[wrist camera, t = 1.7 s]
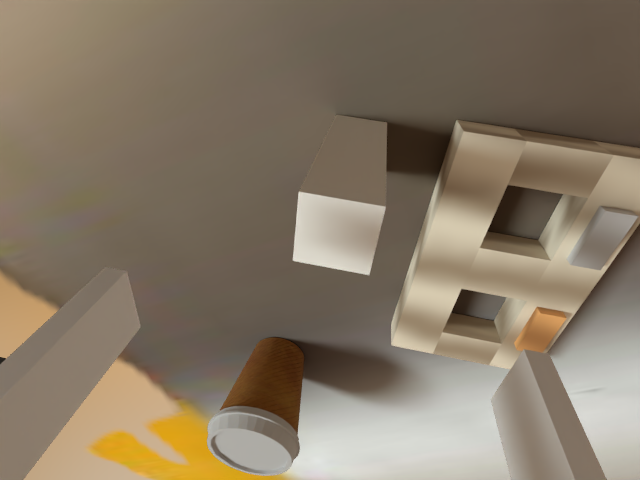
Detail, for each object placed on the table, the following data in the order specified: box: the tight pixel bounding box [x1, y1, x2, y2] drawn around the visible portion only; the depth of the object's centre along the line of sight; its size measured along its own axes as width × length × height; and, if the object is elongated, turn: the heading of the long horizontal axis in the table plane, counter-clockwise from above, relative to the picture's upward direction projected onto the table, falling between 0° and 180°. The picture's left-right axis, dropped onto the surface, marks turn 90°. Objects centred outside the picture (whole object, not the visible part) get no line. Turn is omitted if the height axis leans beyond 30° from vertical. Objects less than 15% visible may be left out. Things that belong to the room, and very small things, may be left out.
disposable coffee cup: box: [207, 337, 304, 476], centre depth 40 cm, size 10×10×12 cm
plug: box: [293, 114, 387, 275], centre depth 23 cm, size 4×4×14 cm
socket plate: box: [391, 120, 640, 369], centre depth 31 cm, size 22×14×4 cm, turn 174°
